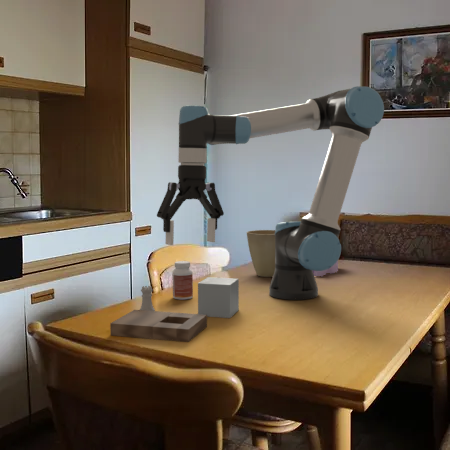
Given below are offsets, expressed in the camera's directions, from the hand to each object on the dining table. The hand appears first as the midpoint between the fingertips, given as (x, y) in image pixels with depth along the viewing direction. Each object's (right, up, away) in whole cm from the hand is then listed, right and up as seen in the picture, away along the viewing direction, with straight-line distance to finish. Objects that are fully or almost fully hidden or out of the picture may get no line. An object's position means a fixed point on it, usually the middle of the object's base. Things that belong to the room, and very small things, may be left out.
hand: (190, 243), depth 169 cm
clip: (+45, -13, +65) cm, 80 cm away
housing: (+8, -19, +3) cm, 21 cm away
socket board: (-7, -21, -14) cm, 27 cm away
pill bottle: (-4, -18, +22) cm, 28 cm away
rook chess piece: (-12, -20, +1) cm, 23 cm away
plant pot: (+25, -14, +59) cm, 65 cm away
